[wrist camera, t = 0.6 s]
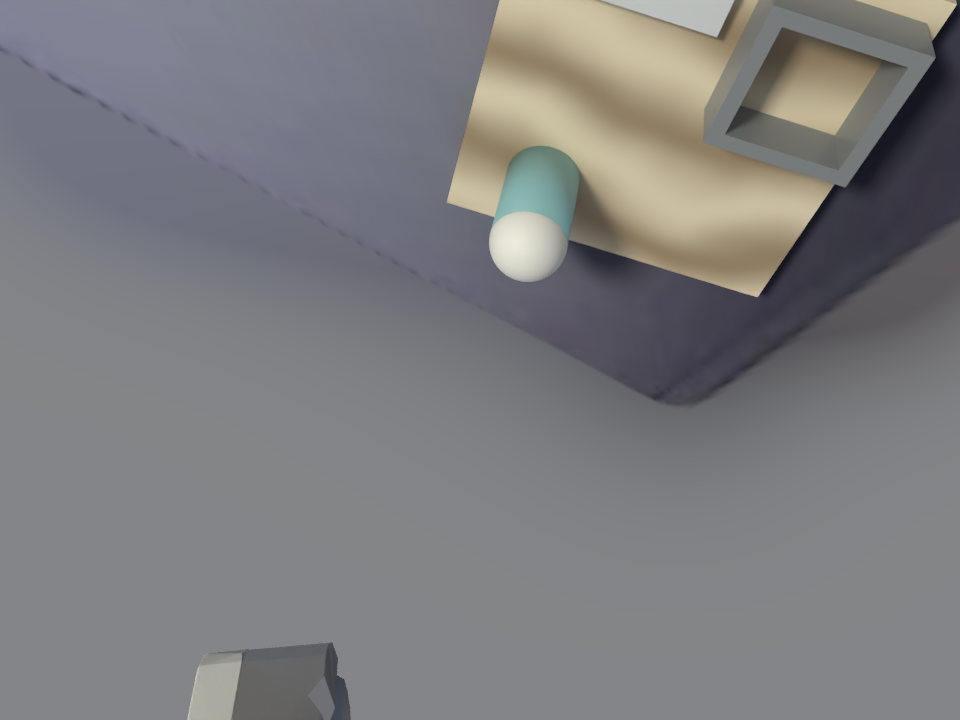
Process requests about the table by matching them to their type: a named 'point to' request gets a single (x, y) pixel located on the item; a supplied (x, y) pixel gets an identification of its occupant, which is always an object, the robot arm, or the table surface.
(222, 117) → the table surface
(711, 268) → the board
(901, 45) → the frame
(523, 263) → the capsule
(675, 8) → the plank
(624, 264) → the table surface
